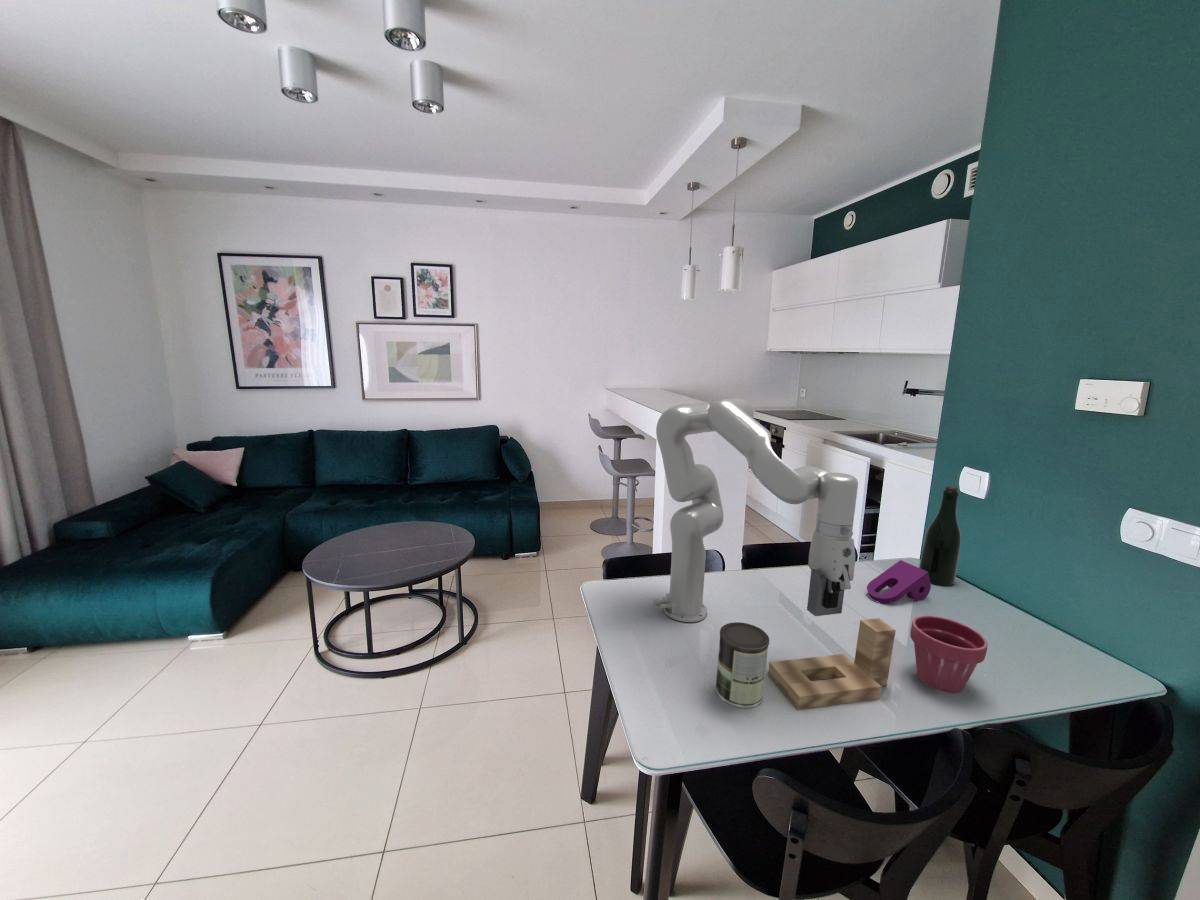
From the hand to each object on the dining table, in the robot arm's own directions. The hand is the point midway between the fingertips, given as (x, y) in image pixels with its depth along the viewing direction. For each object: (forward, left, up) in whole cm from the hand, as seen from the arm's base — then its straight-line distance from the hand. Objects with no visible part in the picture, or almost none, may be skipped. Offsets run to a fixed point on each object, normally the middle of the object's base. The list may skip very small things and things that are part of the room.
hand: (825, 602), depth 114 cm
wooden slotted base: (0, -5, -18) cm, 18 cm away
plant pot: (+27, -8, -18) cm, 33 cm away
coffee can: (-22, -4, -18) cm, 29 cm away
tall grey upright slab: (0, 0, -2) cm, 2 cm away
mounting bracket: (+49, +30, -18) cm, 60 cm away
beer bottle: (+73, +38, -18) cm, 84 cm away
